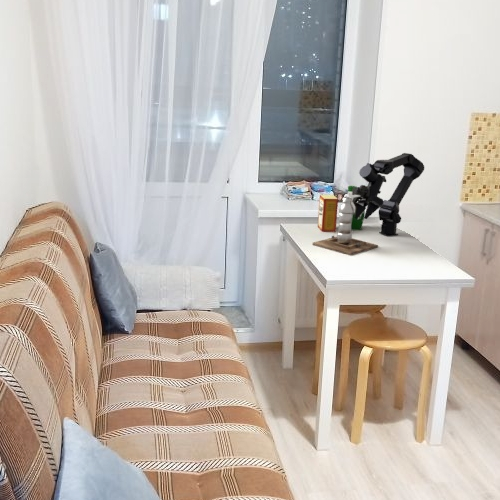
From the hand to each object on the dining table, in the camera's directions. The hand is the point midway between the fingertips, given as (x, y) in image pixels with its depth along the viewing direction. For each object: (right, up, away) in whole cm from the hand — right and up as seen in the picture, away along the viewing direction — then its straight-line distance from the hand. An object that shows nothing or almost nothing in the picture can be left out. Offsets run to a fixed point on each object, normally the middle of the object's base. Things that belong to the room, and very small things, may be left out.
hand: (360, 218), depth 290 cm
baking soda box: (-12, -4, +23) cm, 26 cm away
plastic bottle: (-8, -11, -4) cm, 14 cm away
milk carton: (+1, -3, +27) cm, 27 cm away
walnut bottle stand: (-7, -12, -5) cm, 15 cm away
